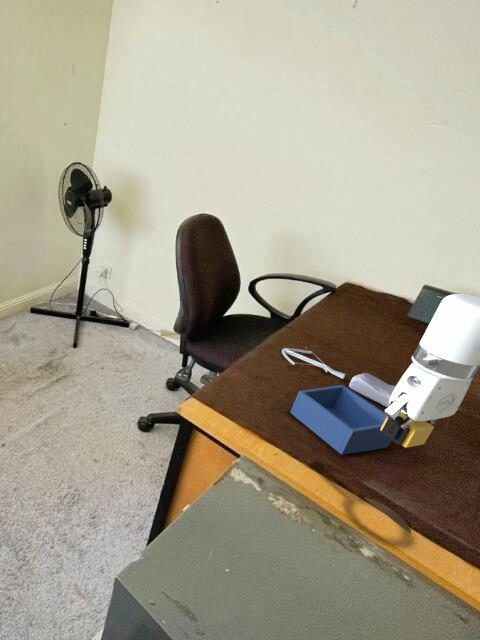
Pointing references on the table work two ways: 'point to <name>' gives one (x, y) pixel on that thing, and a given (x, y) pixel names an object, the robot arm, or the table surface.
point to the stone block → (372, 388)
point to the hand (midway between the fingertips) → (401, 436)
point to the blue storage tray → (341, 418)
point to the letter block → (415, 432)
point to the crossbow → (309, 360)
